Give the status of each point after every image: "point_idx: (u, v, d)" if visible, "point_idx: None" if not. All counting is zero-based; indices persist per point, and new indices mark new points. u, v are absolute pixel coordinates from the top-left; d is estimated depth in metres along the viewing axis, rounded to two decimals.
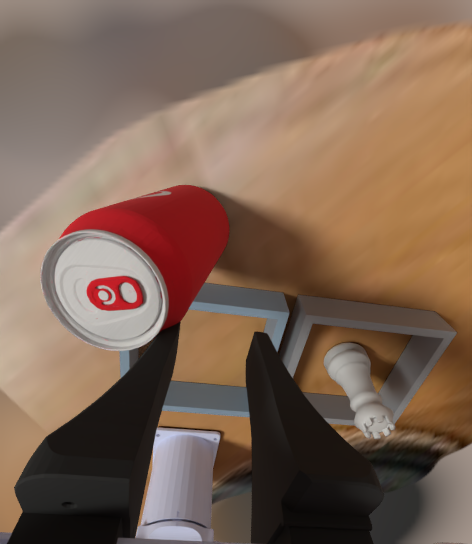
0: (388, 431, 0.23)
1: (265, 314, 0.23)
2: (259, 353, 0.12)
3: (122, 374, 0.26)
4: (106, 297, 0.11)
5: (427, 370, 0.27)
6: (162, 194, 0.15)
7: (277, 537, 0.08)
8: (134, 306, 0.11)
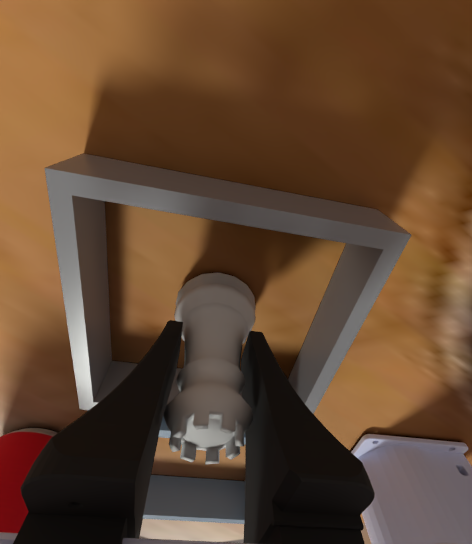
0: (220, 423, 0.09)
1: None
2: (253, 352, 0.12)
3: (201, 520, 0.25)
4: None
5: (183, 202, 0.10)
6: None
7: (269, 537, 0.08)
8: None
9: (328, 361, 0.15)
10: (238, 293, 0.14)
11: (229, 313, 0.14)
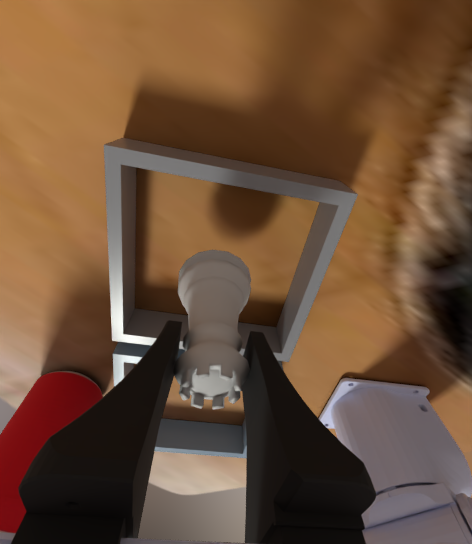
0: (220, 372, 0.11)
1: (118, 371, 0.23)
2: (254, 352, 0.12)
3: (205, 454, 0.30)
4: None
5: (197, 170, 0.15)
6: None
7: (270, 536, 0.08)
8: None
9: (304, 298, 0.20)
10: (232, 266, 0.16)
11: (225, 284, 0.15)
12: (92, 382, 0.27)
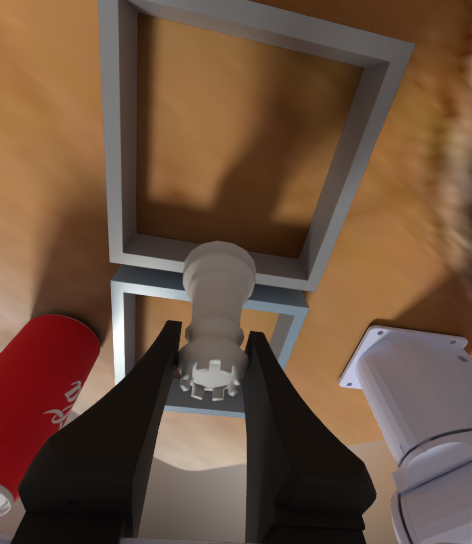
0: (219, 367, 0.11)
1: (117, 304, 0.20)
2: (254, 352, 0.12)
3: (215, 414, 0.27)
4: None
5: (215, 3, 0.12)
6: None
7: (270, 537, 0.08)
8: None
9: (339, 203, 0.16)
10: (236, 258, 0.16)
11: (229, 276, 0.15)
12: (88, 328, 0.24)
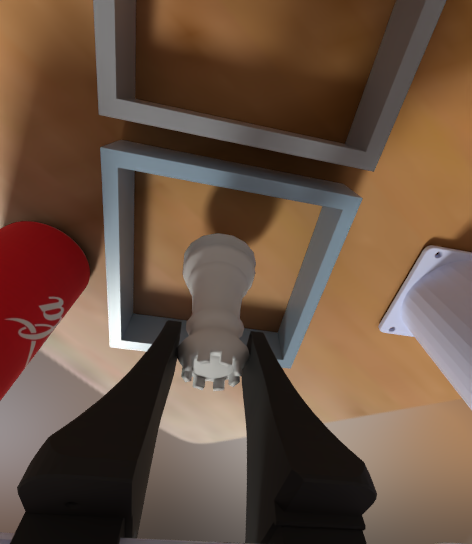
0: (220, 359, 0.11)
1: (110, 188, 0.15)
2: (254, 352, 0.12)
3: None
4: None
5: None
6: None
7: (270, 536, 0.08)
8: None
9: (424, 11, 0.12)
10: (236, 251, 0.16)
11: (229, 269, 0.15)
12: (74, 242, 0.19)
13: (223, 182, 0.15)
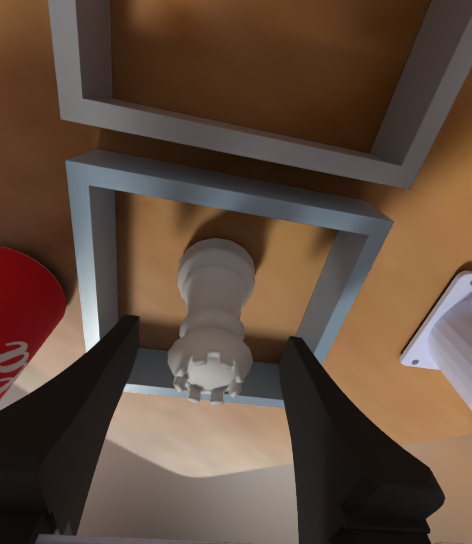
0: (219, 359, 0.10)
1: (80, 210, 0.12)
2: (298, 358, 0.12)
3: (232, 401, 0.19)
4: None
5: None
6: None
7: (334, 539, 0.08)
8: None
9: None
10: (235, 254, 0.15)
11: (227, 272, 0.14)
12: (45, 269, 0.16)
13: (222, 203, 0.12)
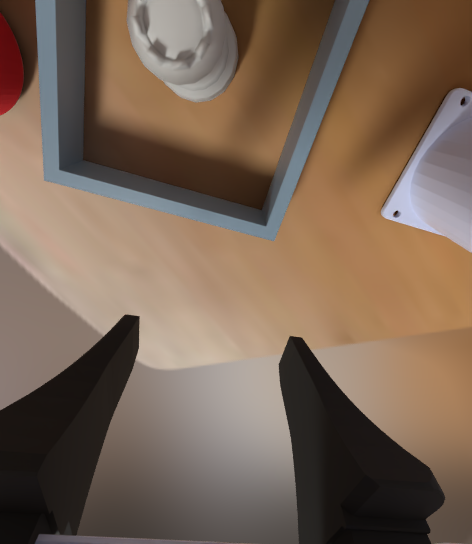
0: None
1: None
2: (298, 358, 0.12)
3: (202, 219, 0.17)
4: None
5: None
6: None
7: (334, 540, 0.08)
8: None
9: None
10: None
11: None
12: (1, 15, 0.14)
13: None
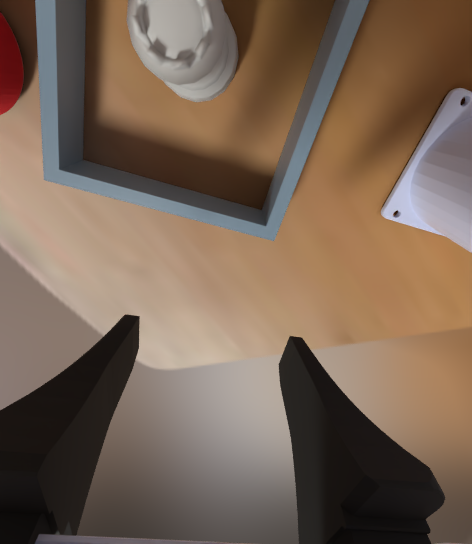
0: None
1: None
2: (298, 358, 0.12)
3: (202, 219, 0.17)
4: None
5: None
6: None
7: (334, 540, 0.08)
8: None
9: None
10: None
11: None
12: (1, 14, 0.14)
13: None
